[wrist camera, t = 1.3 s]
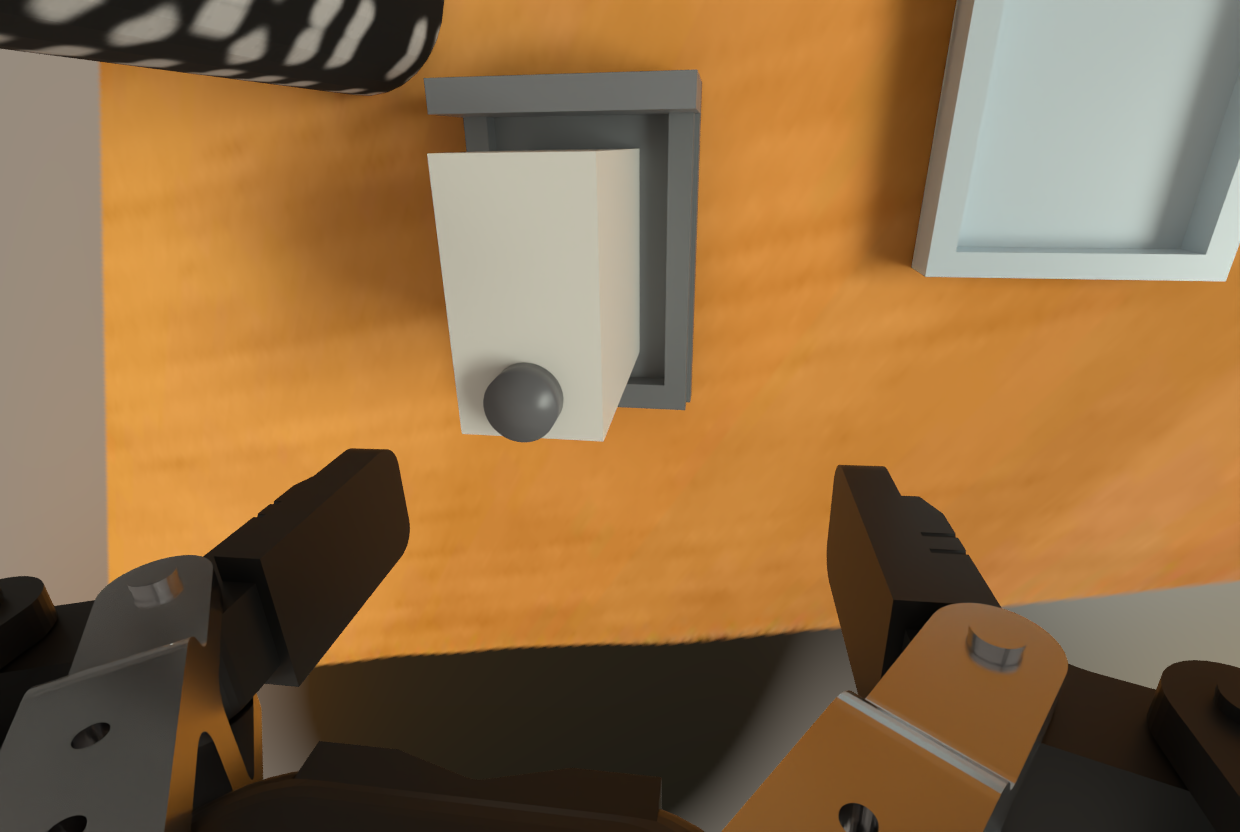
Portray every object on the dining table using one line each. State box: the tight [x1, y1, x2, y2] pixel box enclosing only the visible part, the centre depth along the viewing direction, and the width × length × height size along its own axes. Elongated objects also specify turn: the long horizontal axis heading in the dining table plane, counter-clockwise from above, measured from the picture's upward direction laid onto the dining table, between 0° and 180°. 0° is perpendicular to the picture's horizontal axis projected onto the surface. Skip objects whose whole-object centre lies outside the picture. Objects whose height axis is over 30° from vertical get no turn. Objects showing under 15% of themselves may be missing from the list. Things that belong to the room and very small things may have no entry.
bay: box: [424, 70, 702, 410], centre depth 27 cm, size 14×10×5 cm
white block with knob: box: [427, 149, 640, 442], centre depth 24 cm, size 9×5×11 cm, turn 1°
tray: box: [911, 0, 1240, 281], centre depth 23 cm, size 15×11×2 cm
